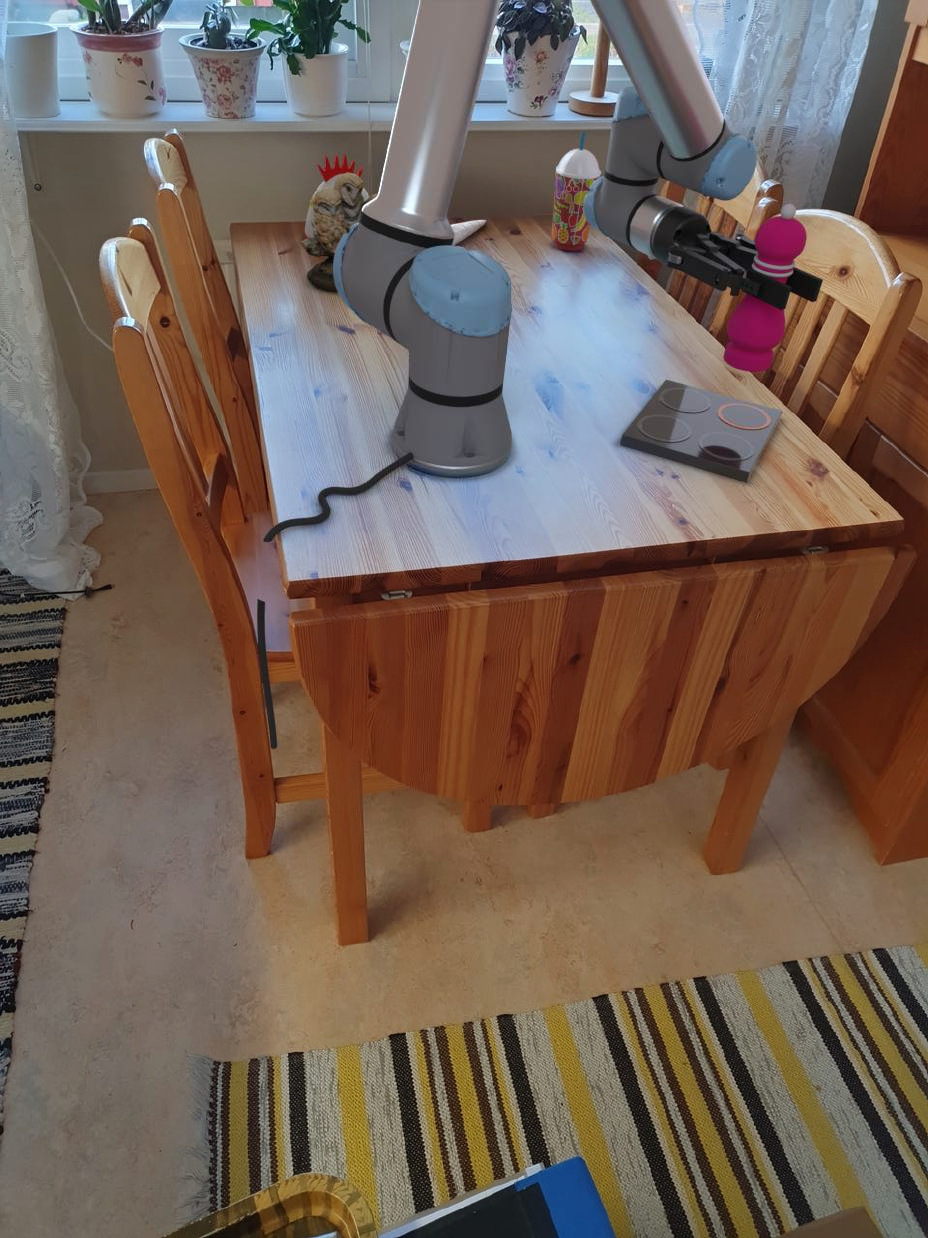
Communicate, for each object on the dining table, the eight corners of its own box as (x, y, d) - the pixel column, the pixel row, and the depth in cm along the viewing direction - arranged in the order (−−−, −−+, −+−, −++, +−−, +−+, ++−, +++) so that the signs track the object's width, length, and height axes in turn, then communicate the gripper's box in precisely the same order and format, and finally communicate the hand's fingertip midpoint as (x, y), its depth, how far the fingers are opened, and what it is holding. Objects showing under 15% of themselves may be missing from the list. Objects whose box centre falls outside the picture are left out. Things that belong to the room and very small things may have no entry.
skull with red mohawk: (298, 230, 175) (293, 144, 166) (368, 226, 180) (367, 142, 170) (315, 256, 166) (311, 167, 156) (388, 251, 170) (389, 164, 160)
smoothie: (540, 239, 180) (553, 126, 167) (579, 237, 182) (595, 125, 169) (556, 254, 174) (570, 138, 161) (596, 252, 176) (614, 138, 163)
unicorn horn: (502, 227, 184) (504, 202, 180) (439, 261, 168) (440, 234, 165) (482, 222, 185) (483, 197, 182) (417, 255, 170) (417, 228, 166)
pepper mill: (708, 353, 124) (747, 196, 111) (751, 346, 126) (793, 192, 113) (741, 377, 119) (786, 216, 106) (785, 369, 121) (834, 211, 108)
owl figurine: (314, 299, 151) (309, 189, 140) (293, 273, 159) (286, 166, 148) (415, 287, 158) (418, 181, 147) (390, 263, 166) (391, 160, 154)
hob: (746, 482, 116) (750, 471, 115) (619, 444, 121) (622, 434, 120) (779, 420, 129) (782, 410, 128) (663, 388, 135) (666, 378, 134)
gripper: (711, 252, 133) (840, 311, 119) (616, 271, 125) (742, 337, 111) (724, 197, 128) (860, 252, 114) (626, 213, 120) (759, 275, 106)
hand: (801, 294), depth 112 cm, fingers closed on pepper mill, 5 cm apart
